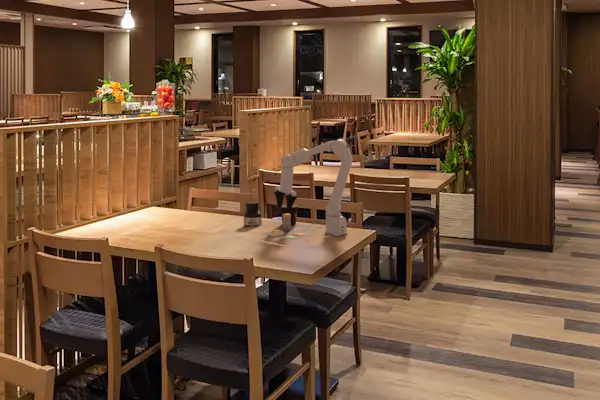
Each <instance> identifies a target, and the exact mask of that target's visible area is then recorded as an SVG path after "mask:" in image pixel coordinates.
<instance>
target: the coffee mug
mask: <svg viewBox="0 0 600 400" xmlns="http://www.w3.org/2000/svg"><path fill="white" fill-rule="evenodd" d="M279 208H280V213H281V222H282V224H283V214H286V213H288V214H291V218H290V221H291V227H292V226H295V225H297V216H298V209H299V208H298V205H297V204H293V206H292V209H291V210H287V204H283V205H282V207H279Z"/></svg>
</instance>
